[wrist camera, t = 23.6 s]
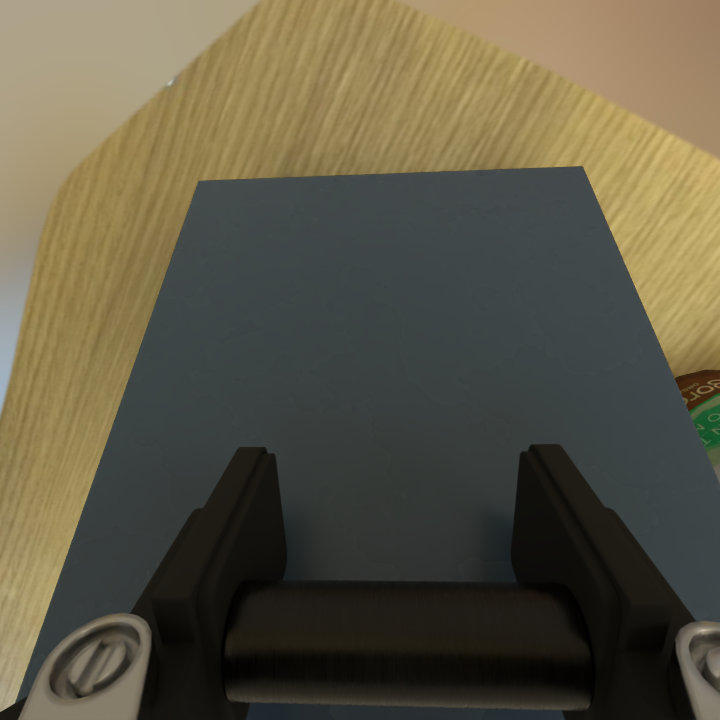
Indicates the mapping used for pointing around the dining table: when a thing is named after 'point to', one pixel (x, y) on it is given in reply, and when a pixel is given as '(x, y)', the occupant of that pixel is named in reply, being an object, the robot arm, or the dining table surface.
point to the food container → (704, 409)
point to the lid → (396, 438)
